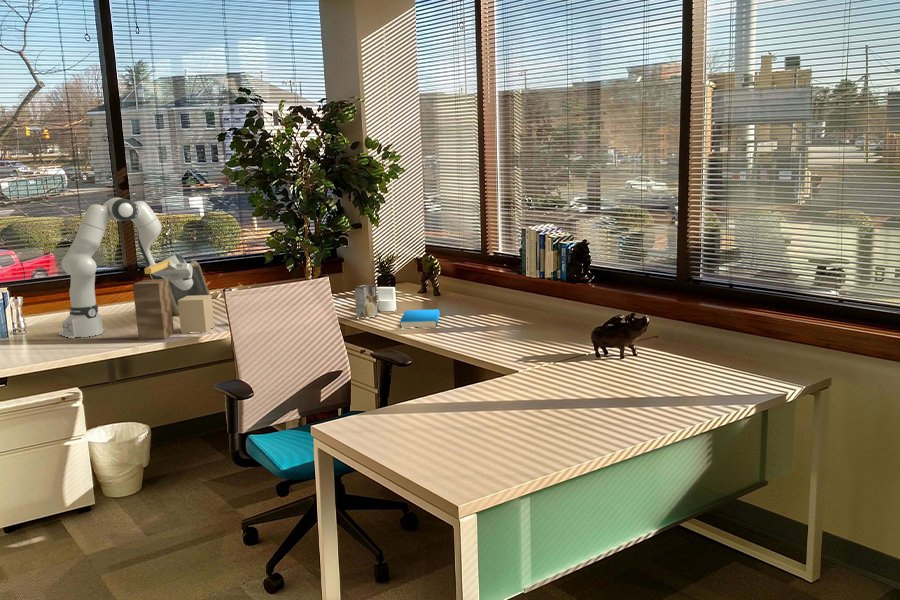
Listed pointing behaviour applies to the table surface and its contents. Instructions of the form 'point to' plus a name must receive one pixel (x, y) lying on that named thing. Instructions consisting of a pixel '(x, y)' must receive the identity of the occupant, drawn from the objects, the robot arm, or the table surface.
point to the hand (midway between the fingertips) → (164, 263)
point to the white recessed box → (386, 298)
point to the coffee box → (366, 300)
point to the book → (420, 318)
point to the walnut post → (153, 309)
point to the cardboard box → (196, 313)
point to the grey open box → (196, 289)
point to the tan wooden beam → (157, 267)
